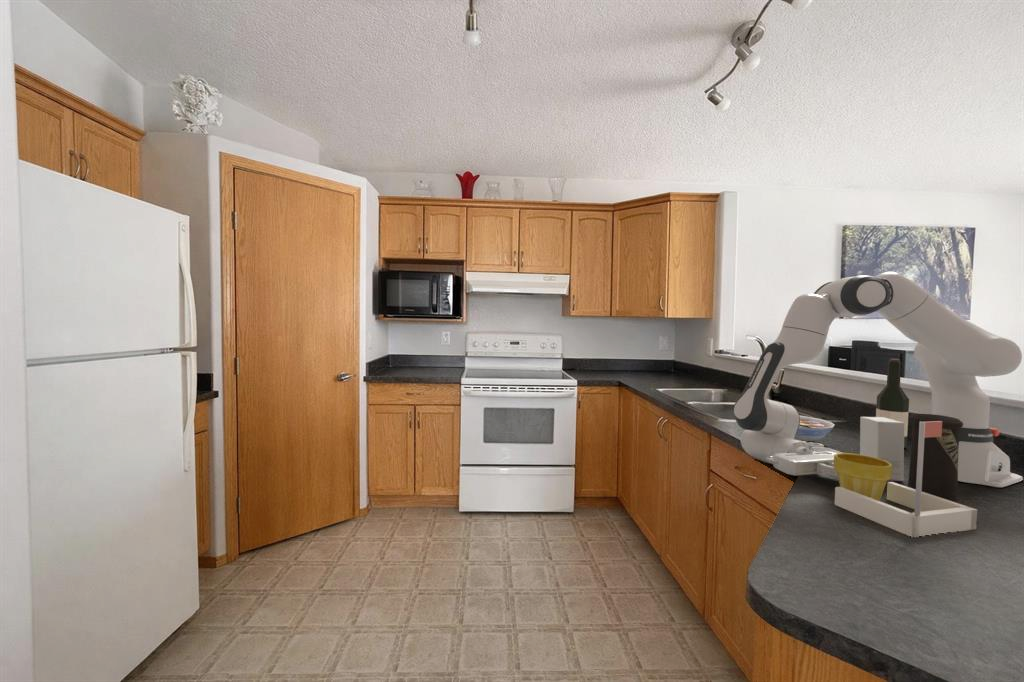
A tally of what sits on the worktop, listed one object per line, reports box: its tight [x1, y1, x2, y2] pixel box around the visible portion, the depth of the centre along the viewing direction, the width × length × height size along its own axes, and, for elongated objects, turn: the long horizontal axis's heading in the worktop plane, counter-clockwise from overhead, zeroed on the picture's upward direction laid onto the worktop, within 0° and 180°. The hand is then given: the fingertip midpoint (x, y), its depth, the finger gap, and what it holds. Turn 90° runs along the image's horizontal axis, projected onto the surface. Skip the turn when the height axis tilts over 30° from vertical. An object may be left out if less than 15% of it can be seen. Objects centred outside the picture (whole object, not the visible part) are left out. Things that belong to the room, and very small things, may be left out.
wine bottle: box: [875, 358, 910, 448], centre depth 149 cm, size 8×8×30 cm
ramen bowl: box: [794, 415, 836, 442], centre depth 154 cm, size 25×23×8 cm
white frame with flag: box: [834, 421, 978, 538], centre depth 92 cm, size 17×16×22 cm
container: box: [907, 413, 963, 503], centre depth 102 cm, size 9×9×20 cm
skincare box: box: [859, 416, 905, 482], centre depth 118 cm, size 8×7×16 cm
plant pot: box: [834, 452, 892, 502], centre depth 100 cm, size 10×10×10 cm
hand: (843, 473), depth 104 cm, fingers closed
